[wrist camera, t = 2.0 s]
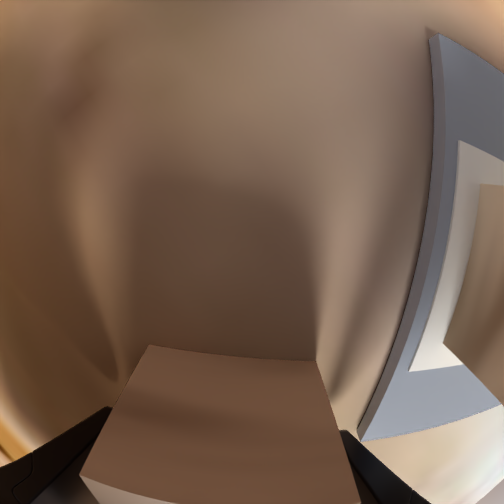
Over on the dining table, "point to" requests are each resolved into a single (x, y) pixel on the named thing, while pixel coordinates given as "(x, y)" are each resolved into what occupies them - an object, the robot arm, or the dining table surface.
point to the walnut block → (220, 435)
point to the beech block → (483, 297)
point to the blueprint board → (444, 252)
